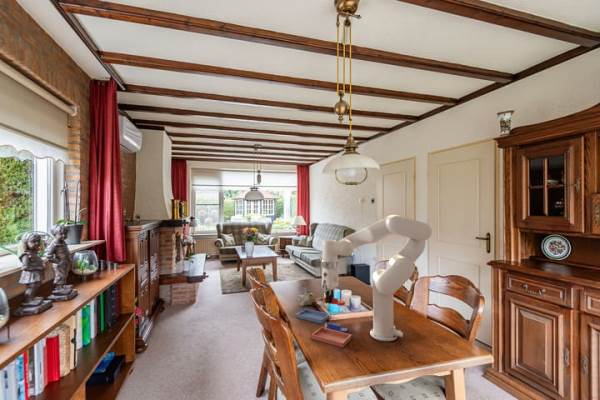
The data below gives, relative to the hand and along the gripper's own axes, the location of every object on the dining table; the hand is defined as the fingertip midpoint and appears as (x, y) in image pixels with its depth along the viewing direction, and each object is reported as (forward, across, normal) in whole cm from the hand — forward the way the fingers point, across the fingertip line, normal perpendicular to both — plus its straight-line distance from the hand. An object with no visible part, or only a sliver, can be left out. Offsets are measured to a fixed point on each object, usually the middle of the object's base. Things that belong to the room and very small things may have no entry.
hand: (329, 301), depth 139 cm
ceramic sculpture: (+16, +29, +30) cm, 44 cm away
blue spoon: (+15, +5, -1) cm, 16 cm away
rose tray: (+15, -5, -4) cm, 16 cm away
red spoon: (0, 0, -2) cm, 2 cm away
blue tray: (+15, +13, +17) cm, 26 cm away
